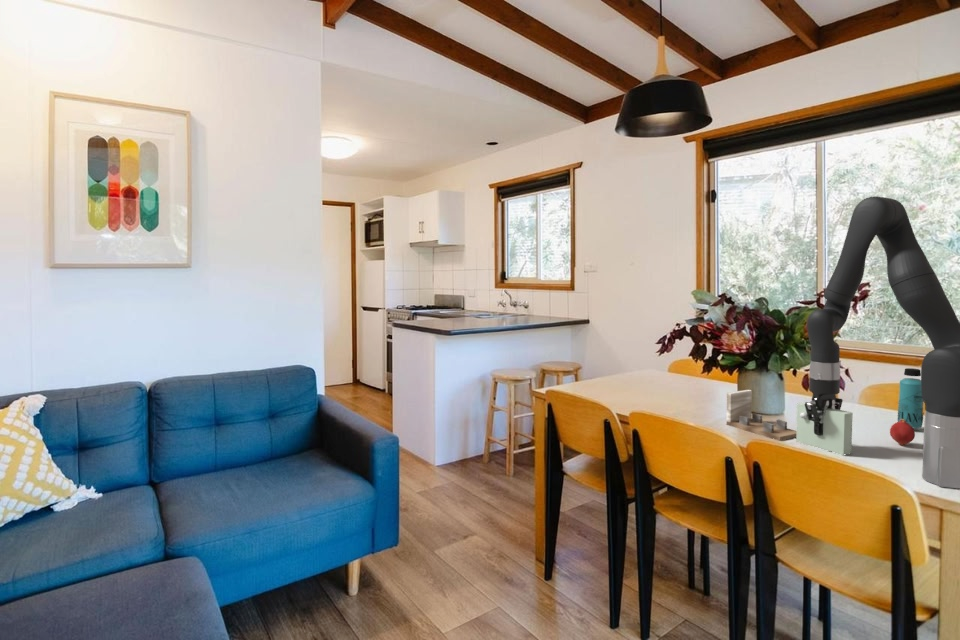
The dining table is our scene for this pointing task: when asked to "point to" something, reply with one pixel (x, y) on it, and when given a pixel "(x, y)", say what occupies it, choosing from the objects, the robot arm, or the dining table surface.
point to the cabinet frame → (753, 417)
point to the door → (826, 430)
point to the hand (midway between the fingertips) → (823, 433)
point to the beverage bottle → (911, 399)
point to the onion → (902, 432)
